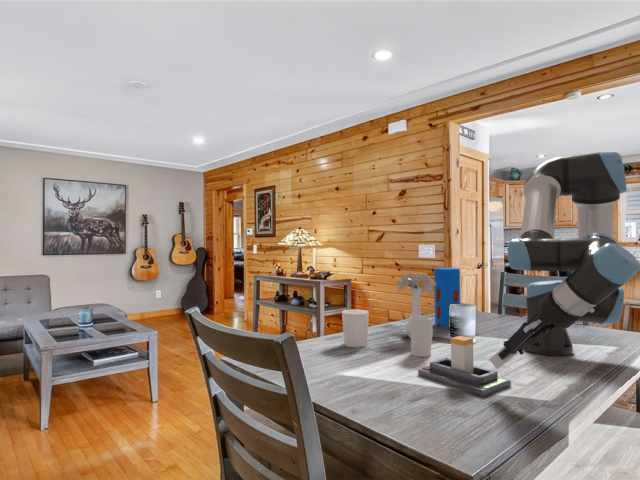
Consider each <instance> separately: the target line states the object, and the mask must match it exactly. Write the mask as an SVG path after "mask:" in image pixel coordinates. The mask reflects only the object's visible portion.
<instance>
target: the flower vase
mask: <svg viewBox="0 0 640 480" xmlns="http://www.w3.org/2000/svg"><path fill="white" fill-rule="evenodd" d="M400 279H401V280H396V283H395V284H396V285H397V287H398V288H397V292H398V293H399V292H401V291H402V290H406V287H407V286H408V287H410V288H409V289H410V292H411V294H410V295H411V303H412V304H411V306H412V307H411V315H410V317H414V316H422V313H421V312H422V311H421V293H424V292H425V293H427V294H429V295H432V294H433V288H432V287H434V286H435V285H436V283H435V282H434V281H431V275H428V276H426V274H425V273H418V274H416V275H414V273H412V272H409V273H407V275H405V274H404V273H401V275H400ZM403 329H404V332H405V333H406V334H407V336H408V337H409V338H410V339H411V328H410V318H408V320H407V321H406V323H404V327H403Z"/></svg>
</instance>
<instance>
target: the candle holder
mask: <svg viewBox="0 0 640 480" xmlns="http://www.w3.org/2000/svg"><path fill="white" fill-rule="evenodd" d="M369 313H370V311H369V310H365V309H359V308H358V309H355V308H353V309H344V310H342V311H341V316H342V317H341V319H342V334H343V343H344V344H343V345H344V346H346V347H347V348H348V347H349V348H357V349H358V348H364V347H366V346H368V338H369V336H368V335H369V318H370V317H369V316H370V315H369Z"/></svg>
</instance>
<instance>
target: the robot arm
mask: <svg viewBox="0 0 640 480" xmlns="http://www.w3.org/2000/svg"><path fill="white" fill-rule="evenodd" d="M623 163H624V162H623V159H622V155H621V154H620V153H619V152H616V151H606V152H605V151H603V152H602V151H598V152H592V153H591V152H590V153H584V154H582V153H581V154H575V155H567V156H557V157H553V158H551V159H548V160H546V161H544V162H543V163H541V164H540V165H538V166H537V167H536V168H535V169H533V171H531V173H530V174H529V175H528V176H527V178H526V180H525V182H524V185H523V196H524V197H525V203H524V209H523V216H522V223H521V229H520V235H519V238H514V239H513V238H512V239H510V240H509V242H508V245H507V261H508V266H509V267H510V269H512V270H516V271H518V270H519V271H526V272H533V271H535V272H538V271H539V272H541V271H542V272H543V271H544V272H572V273H571V274H569V275H568V276H567V277H566V278H564V279H563V280H562V279H559V280H556V279H555V280H543V281H537V282H536V281H534V282H531V283H529V284H528V285H527V287H526V295H525V298H526V321H525V322H523V323H522V324H521V326H520V327H519V328H518V329H517V330H516V331H515V332H514V333H513V334H512V335H511V336H510V337H509V338H508V339H507V340H506V341H503V347H502V348H500V350H498V351H497V352H496V353H495V354H494V355H492V357H490V358H489V361H490V362H491V363H492V365H493V366H494V368H495V369H496V370H498V369H500V368H502V367H503V366H505V364H506V363H508V362H509V361H510V360H511V359H513V358H514V357H515V356H517V355H518V354H519V355H520V356H521V355H523V354H525V352H524V351H526V352H528V353H533V354H537V355H543V356H550V357H551V356H555V357H562V356H563V357H564V356H571V355H573V354H574V347H573V343H572V340H571V338H570V335H569V332H568V330H567V329H568V328H570V327H571V326H572V325H573V324H575V323H576V322H580V323H581V322H582V323H594V324H600V325H605V324H608V325H615V324H616V323H618V322H619V321H620V320H621V317H622V314H623V311H624V299H625V291H624V288H623V287H622V286H624V285H625V284H628V282H630V281H631V280H632V278H633V277H635V276H636V274H638V273H639V272H640V261H639V260H638V259H637V258H636V257H635V255H633V254H632V252H630V251H628V250H627V249H626V248H624V247H623V246H622V245H619V243H618V242H617V240H616V239H615V238H614V236H613V235H614V234H613V232H614V228H613V227H614V204H616V203H617V202H619V200H620V199H621V198H620V197H621V194H623V193H626V192H627V190H628V189H627V181H626V174H625V173H626V172H625V167H624V164H623ZM562 196H564V197H568V196H571V202H572V203H573V204H575V205H576V206H577V219H578V220H577V225H578V227H577V229H578V230H577V231H578V233H577V234H578V235H577V236H578V238H555V231H556V229H555V228H556V212H557V211H556V210H557V199H558V198H559V197H562ZM523 350H524V351H523Z"/></svg>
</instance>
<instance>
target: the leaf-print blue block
mask: <svg viewBox="0 0 640 480" xmlns="http://www.w3.org/2000/svg"><path fill="white" fill-rule="evenodd" d="M433 270H434V272H433V282H435V283H436V285H435V286H434V291H433V292H434V325H435V326H436V327H438V328H444V329H445V328H446V329H447V328H448V329H450V328H449V306H450V304H460V305H461V271H460V268H459V267H434V269H433Z"/></svg>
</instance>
